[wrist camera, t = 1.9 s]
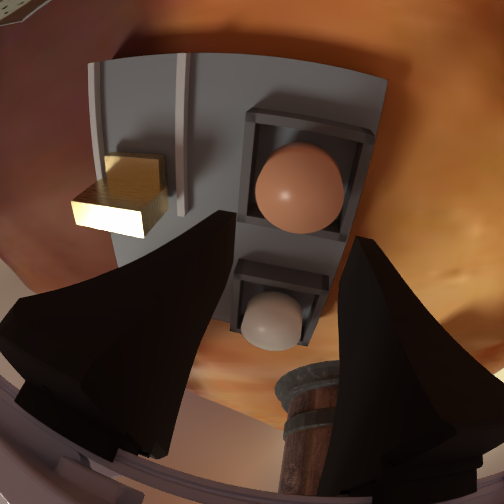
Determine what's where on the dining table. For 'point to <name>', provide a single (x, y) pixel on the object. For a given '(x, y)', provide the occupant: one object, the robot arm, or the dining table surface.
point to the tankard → (307, 424)
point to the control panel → (238, 157)
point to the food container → (18, 10)
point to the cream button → (272, 321)
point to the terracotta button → (300, 188)
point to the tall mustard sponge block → (125, 195)
